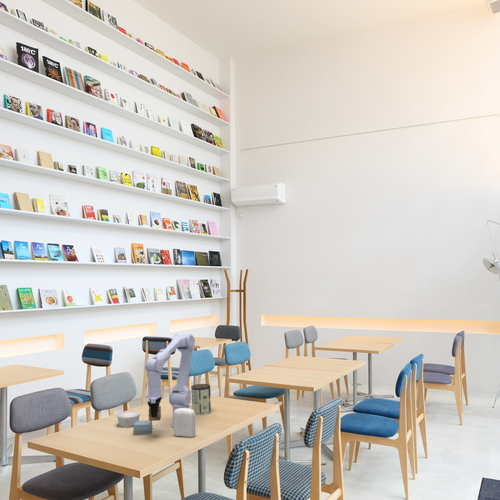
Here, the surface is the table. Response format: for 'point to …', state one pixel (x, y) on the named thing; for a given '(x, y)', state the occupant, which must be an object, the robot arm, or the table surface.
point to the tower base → (143, 431)
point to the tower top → (142, 425)
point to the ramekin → (128, 418)
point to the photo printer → (184, 422)
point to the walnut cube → (157, 415)
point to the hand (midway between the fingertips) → (154, 415)
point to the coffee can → (201, 399)
